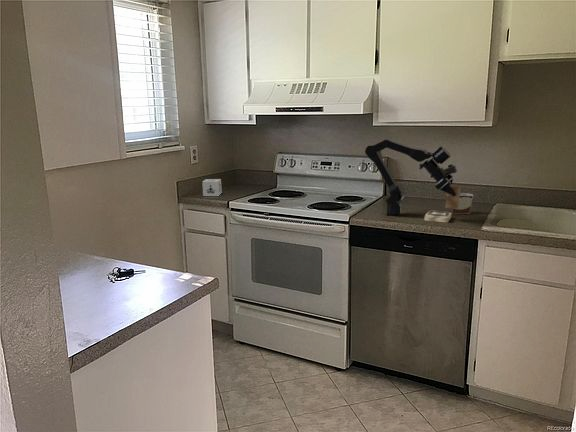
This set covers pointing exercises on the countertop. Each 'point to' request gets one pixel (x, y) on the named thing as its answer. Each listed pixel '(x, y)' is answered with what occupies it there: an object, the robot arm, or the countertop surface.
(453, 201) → the tan orange upright block
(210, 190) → the icon cube
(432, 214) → the base plate
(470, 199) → the food container
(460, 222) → the countertop surface
